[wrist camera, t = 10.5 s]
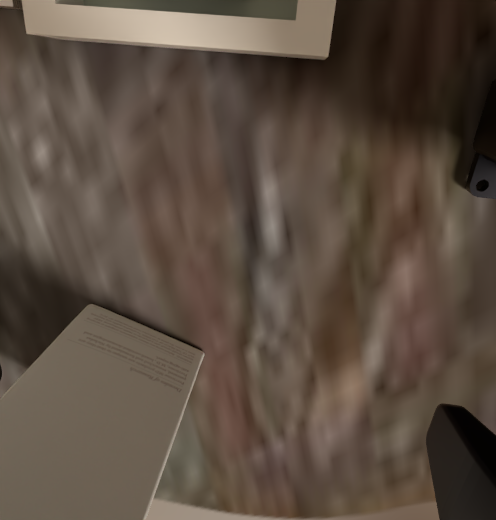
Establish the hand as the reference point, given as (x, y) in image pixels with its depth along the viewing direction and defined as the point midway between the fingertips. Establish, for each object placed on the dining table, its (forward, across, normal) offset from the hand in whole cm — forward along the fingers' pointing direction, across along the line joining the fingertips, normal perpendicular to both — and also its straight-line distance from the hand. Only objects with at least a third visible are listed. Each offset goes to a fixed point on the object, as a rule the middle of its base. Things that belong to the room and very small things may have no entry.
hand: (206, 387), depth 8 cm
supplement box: (+12, +7, +11) cm, 18 cm away
